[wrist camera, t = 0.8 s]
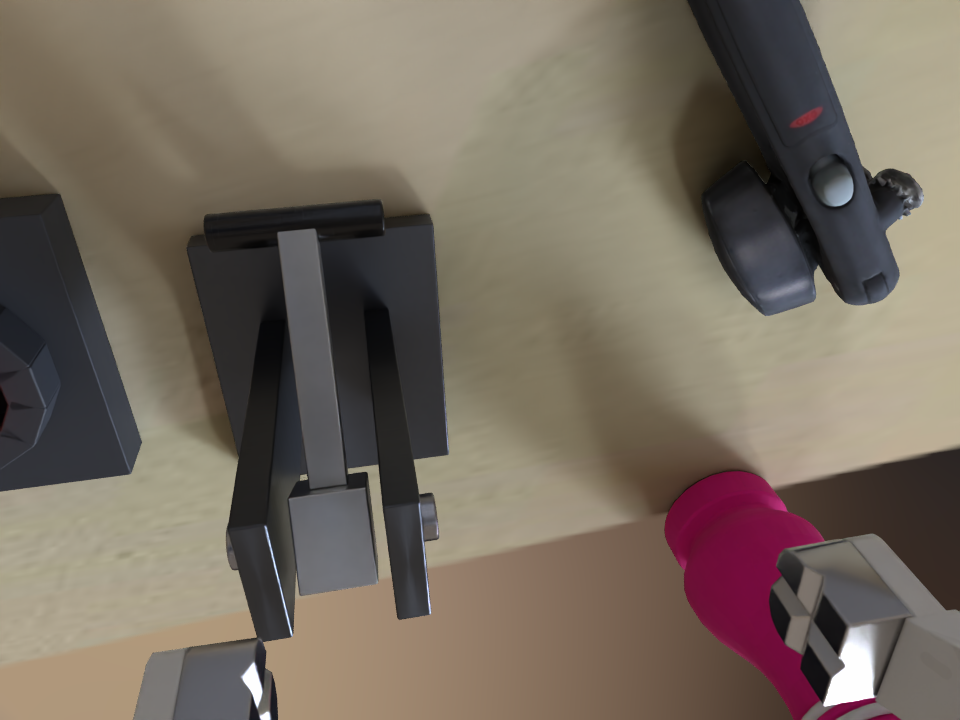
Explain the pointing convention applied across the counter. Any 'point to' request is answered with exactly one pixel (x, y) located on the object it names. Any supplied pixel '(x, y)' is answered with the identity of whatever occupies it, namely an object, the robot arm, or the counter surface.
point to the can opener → (795, 168)
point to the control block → (55, 358)
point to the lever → (315, 386)
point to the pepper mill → (748, 580)
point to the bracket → (362, 396)
